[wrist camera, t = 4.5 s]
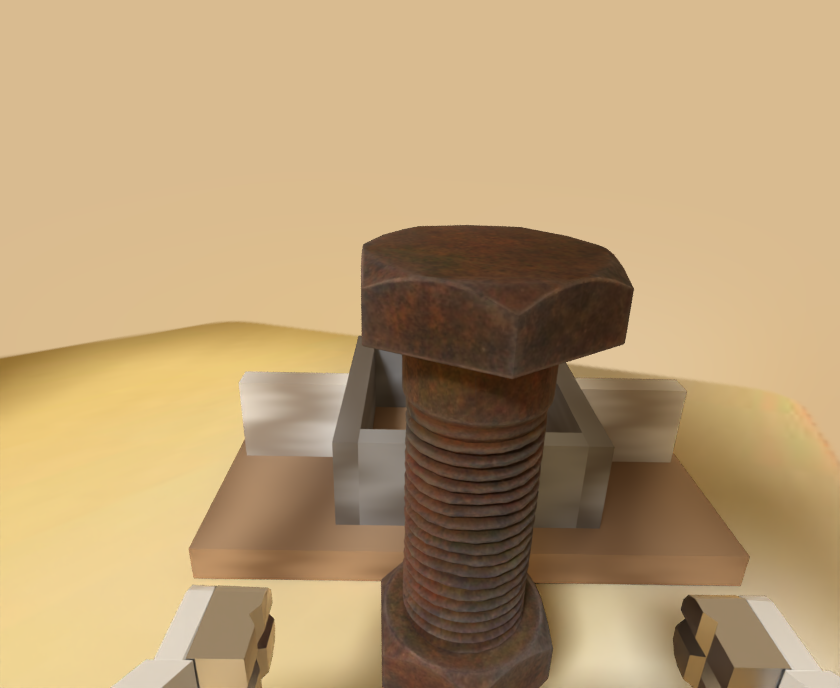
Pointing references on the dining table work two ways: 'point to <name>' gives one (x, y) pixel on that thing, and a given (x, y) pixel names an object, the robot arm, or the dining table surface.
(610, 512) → the square frame on board
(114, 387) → the dining table surface
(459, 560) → the bolt
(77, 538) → the dining table surface
